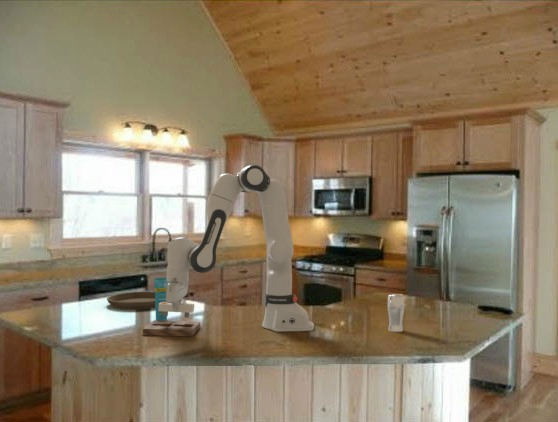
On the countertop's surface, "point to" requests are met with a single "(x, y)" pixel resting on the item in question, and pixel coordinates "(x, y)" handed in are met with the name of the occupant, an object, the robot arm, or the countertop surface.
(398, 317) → the beer glass
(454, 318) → the countertop surface
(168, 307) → the power strip
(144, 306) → the plant saucer
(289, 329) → the robot arm
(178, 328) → the keyhole board
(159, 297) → the tube
